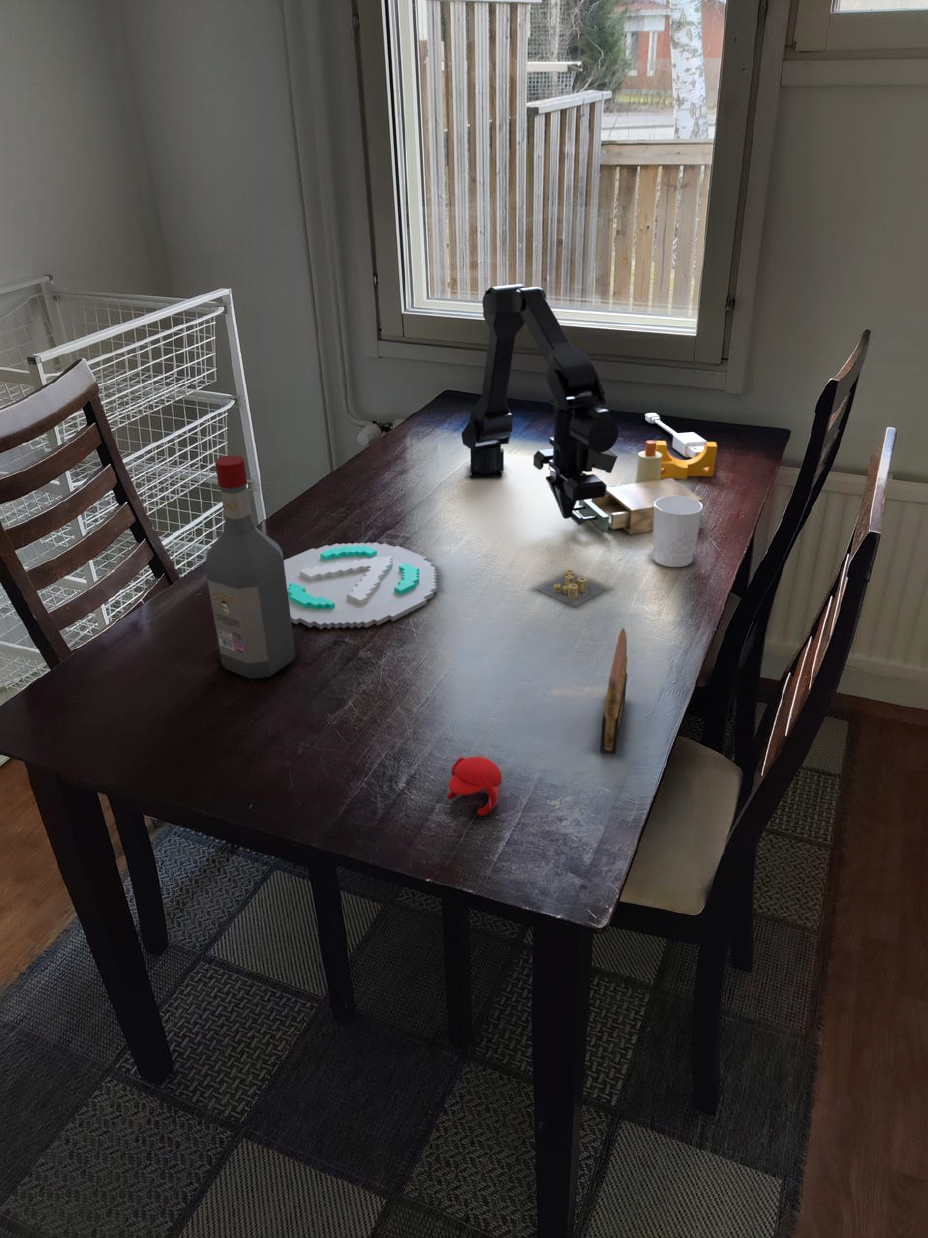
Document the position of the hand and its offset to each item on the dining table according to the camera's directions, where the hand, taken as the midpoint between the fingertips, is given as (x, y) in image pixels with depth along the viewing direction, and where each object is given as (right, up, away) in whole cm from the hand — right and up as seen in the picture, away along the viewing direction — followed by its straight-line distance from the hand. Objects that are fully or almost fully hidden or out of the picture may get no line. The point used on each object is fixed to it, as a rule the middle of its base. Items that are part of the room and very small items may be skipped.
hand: (566, 517), depth 166 cm
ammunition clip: (0, -32, -50) cm, 60 cm away
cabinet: (+16, +1, +6) cm, 17 cm away
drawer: (+9, 0, +3) cm, 10 cm away
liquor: (-48, -24, -35) cm, 64 cm away
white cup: (+17, -8, -9) cm, 21 cm away
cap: (-17, -39, -62) cm, 76 cm away
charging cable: (+29, +22, +42) cm, 56 cm away
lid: (-37, -13, -16) cm, 42 cm away
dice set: (-1, -14, -18) cm, 23 cm away
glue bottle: (+18, +7, +16) cm, 25 cm away
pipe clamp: (+27, +11, +24) cm, 38 cm away
